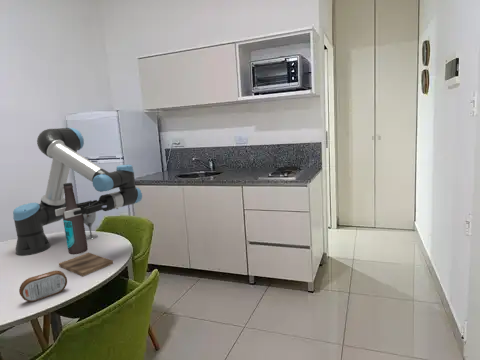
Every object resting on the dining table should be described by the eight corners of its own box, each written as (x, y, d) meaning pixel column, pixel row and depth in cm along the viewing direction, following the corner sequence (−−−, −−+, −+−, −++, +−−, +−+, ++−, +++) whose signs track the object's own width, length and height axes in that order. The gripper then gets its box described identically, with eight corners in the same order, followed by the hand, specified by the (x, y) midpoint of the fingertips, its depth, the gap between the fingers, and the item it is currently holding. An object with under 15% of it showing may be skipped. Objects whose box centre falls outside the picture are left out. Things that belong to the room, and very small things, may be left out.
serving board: (59, 266, 150) (58, 263, 150) (89, 255, 161) (88, 252, 161) (82, 276, 138) (82, 272, 138) (113, 263, 149) (112, 260, 149)
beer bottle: (65, 252, 146) (54, 184, 141) (83, 247, 152) (72, 181, 147) (73, 256, 141) (61, 185, 136) (91, 250, 147) (80, 182, 142)
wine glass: (101, 234, 193) (98, 208, 190) (94, 239, 185) (90, 212, 182) (88, 235, 194) (84, 209, 191) (80, 239, 186) (76, 213, 183)
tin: (67, 287, 129) (63, 266, 128) (69, 290, 127) (66, 269, 125) (21, 303, 120) (17, 280, 118) (22, 306, 117) (18, 283, 116)
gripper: (124, 211, 152) (73, 226, 134) (100, 207, 164) (50, 219, 147) (122, 195, 150) (70, 207, 133) (97, 192, 163) (47, 203, 145)
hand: (60, 214), depth 140 cm, fingers closed on beer bottle, 7 cm apart
